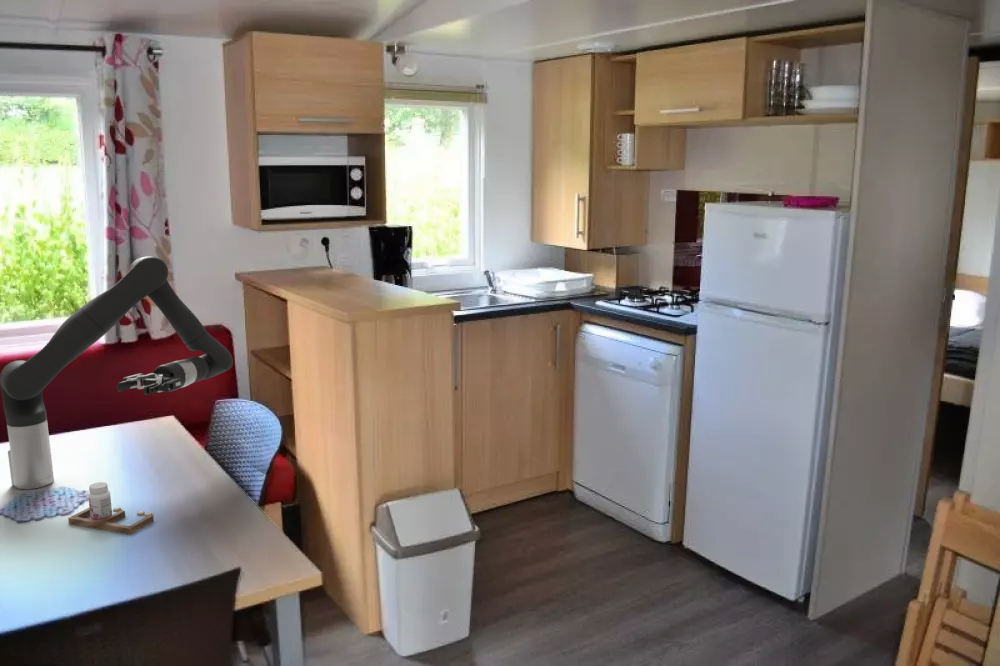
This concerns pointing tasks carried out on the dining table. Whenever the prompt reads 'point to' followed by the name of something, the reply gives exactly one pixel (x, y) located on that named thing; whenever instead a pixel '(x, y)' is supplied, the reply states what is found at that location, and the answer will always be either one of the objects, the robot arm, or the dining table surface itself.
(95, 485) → the pill bottle
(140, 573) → the dining table surface
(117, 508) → the slot rack
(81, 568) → the dining table surface
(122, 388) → the robot arm
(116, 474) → the dining table surface
